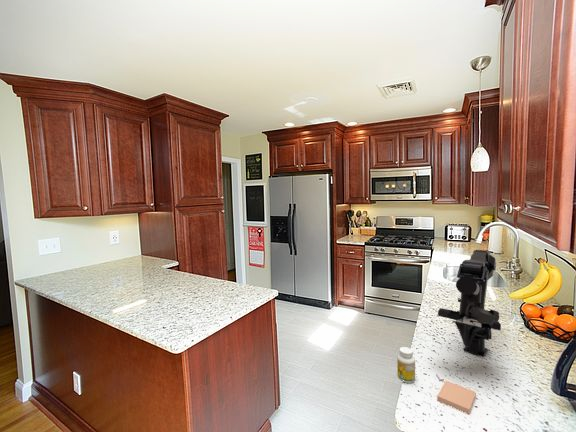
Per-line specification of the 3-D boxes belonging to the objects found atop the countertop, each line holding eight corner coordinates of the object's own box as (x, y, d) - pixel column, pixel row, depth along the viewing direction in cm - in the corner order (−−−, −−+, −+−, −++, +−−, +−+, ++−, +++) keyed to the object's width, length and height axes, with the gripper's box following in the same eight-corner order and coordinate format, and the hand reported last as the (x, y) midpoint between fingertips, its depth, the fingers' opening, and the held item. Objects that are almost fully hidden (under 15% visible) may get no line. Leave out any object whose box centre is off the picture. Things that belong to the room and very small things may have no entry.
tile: (445, 380, 88) (437, 395, 82) (476, 391, 83) (469, 409, 76) (445, 386, 88) (437, 402, 82) (475, 398, 83) (469, 416, 76)
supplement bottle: (418, 383, 89) (418, 354, 89) (401, 383, 89) (401, 355, 89) (410, 372, 95) (410, 345, 94) (394, 373, 95) (394, 345, 94)
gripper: (461, 293, 87) (456, 346, 84) (517, 307, 88) (514, 359, 85) (439, 291, 98) (434, 337, 95) (488, 303, 99) (485, 349, 96)
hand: (466, 346), depth 92 cm, fingers closed
